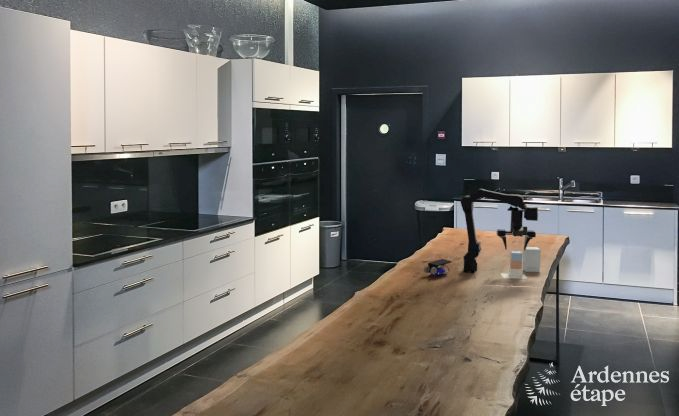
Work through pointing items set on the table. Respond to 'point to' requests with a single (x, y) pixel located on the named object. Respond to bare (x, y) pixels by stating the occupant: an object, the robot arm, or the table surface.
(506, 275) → the baseplate
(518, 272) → the base brick
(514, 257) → the blue brick
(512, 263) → the terracotta brick
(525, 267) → the supplement box
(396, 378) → the table surface
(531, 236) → the robot arm
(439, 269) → the figurine character
